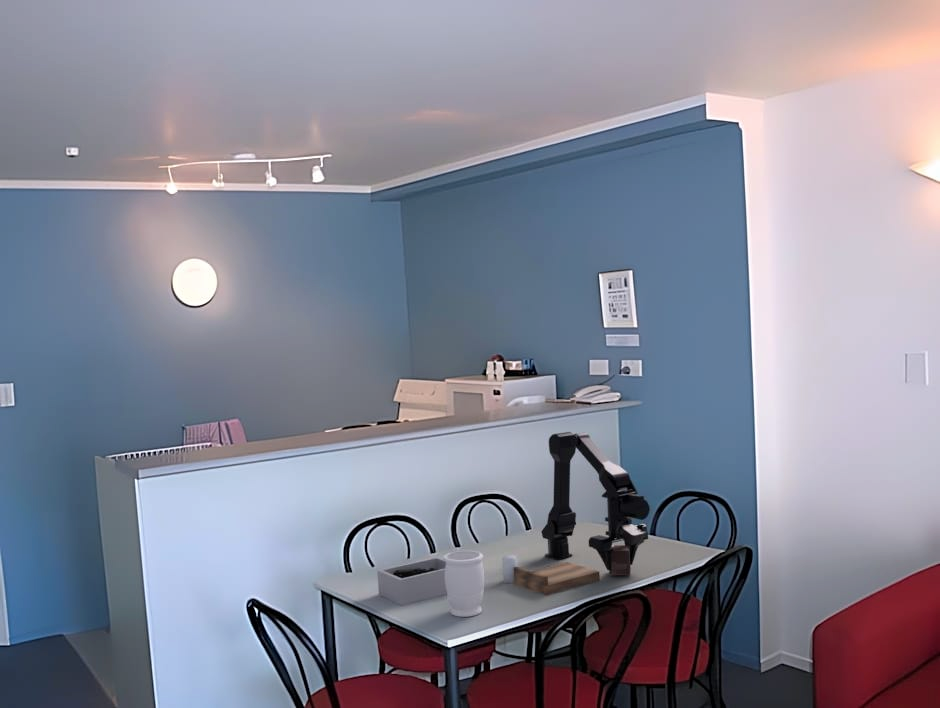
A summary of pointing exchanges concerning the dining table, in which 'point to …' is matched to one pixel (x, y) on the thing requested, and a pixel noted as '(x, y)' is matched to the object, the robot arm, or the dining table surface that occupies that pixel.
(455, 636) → the dining table surface
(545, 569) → the striped wooden slab
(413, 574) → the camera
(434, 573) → the box
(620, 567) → the box
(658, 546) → the dining table surface
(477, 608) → the jar
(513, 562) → the white block
